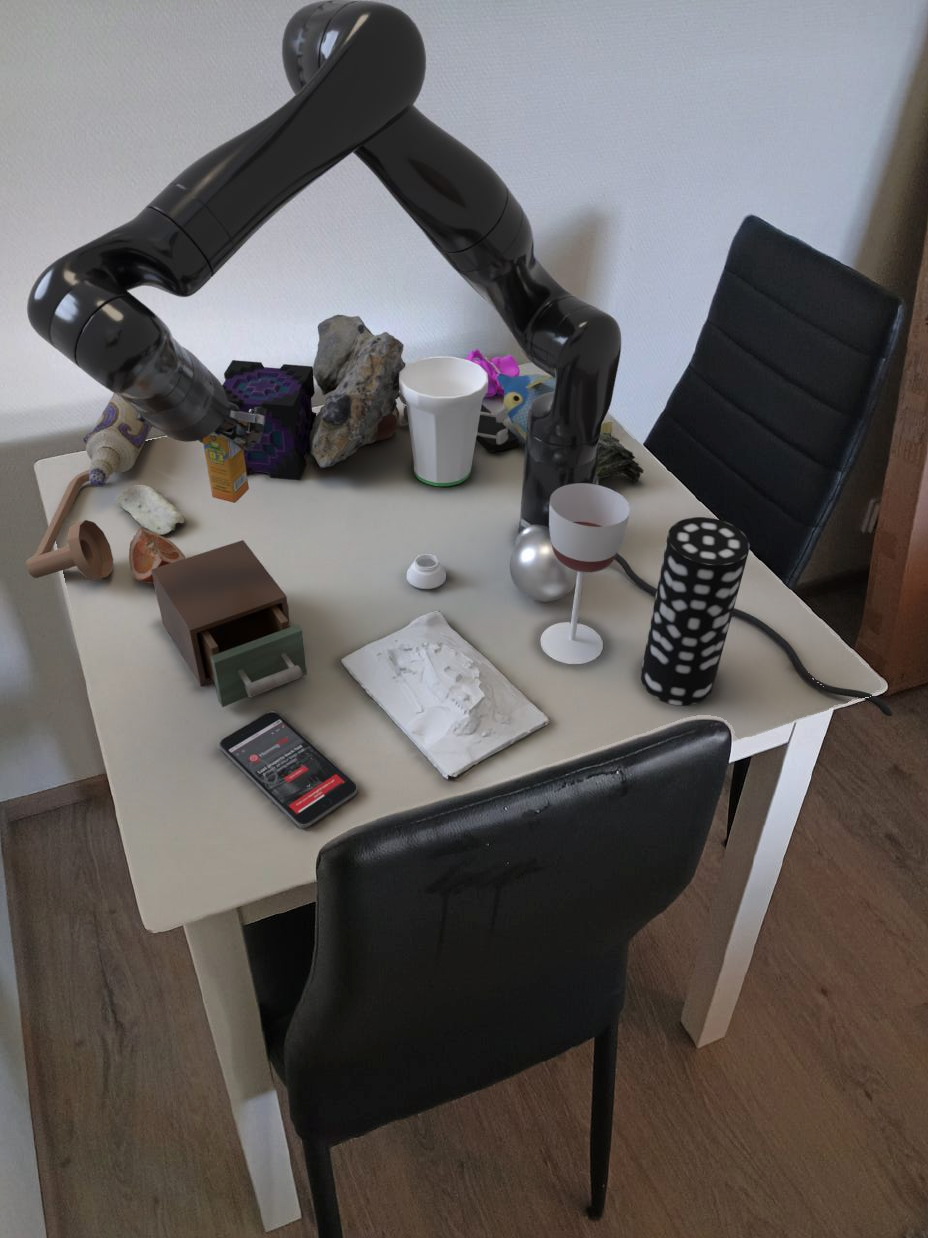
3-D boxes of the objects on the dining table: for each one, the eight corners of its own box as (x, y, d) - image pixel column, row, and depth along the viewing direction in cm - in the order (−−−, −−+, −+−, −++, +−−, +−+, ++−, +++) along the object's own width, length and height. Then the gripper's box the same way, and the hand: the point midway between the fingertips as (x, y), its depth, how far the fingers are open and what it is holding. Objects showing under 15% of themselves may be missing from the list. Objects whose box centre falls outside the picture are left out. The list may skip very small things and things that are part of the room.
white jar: (453, 579, 129) (427, 562, 132) (454, 561, 128) (427, 544, 130) (425, 596, 127) (398, 578, 129) (425, 578, 125) (398, 560, 127)
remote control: (519, 449, 155) (473, 402, 164) (520, 439, 153) (473, 392, 163) (491, 456, 153) (446, 408, 162) (491, 446, 152) (446, 398, 161)
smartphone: (302, 827, 98) (216, 742, 106) (302, 831, 99) (217, 747, 107) (360, 787, 102) (273, 708, 110) (360, 792, 103) (274, 713, 111)
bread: (334, 407, 162) (332, 379, 159) (404, 413, 161) (403, 385, 158) (318, 443, 154) (315, 415, 151) (391, 450, 153) (390, 421, 150)
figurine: (516, 394, 151) (413, 379, 158) (497, 407, 146) (392, 391, 154) (516, 441, 154) (416, 424, 162) (498, 455, 150) (395, 437, 157)
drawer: (322, 695, 112) (318, 651, 108) (236, 730, 108) (228, 685, 103) (266, 617, 122) (260, 574, 117) (185, 647, 117) (175, 602, 113)
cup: (500, 465, 150) (505, 371, 140) (454, 504, 142) (457, 407, 132) (430, 440, 155) (431, 347, 145) (383, 476, 147) (380, 381, 137)
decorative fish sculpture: (513, 330, 150) (496, 411, 143) (634, 372, 153) (622, 454, 147) (489, 378, 161) (471, 455, 154) (602, 417, 164) (589, 494, 158)
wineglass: (589, 675, 117) (610, 536, 104) (523, 647, 120) (536, 508, 107) (618, 637, 122) (642, 499, 109) (555, 611, 125) (570, 475, 112)
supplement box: (209, 498, 114) (196, 419, 107) (225, 483, 116) (214, 405, 110) (234, 505, 113) (223, 426, 106) (250, 490, 115) (241, 411, 109)
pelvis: (531, 361, 167) (520, 400, 170) (482, 343, 170) (472, 381, 173) (497, 367, 157) (486, 408, 160) (446, 347, 160) (437, 387, 163)
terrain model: (428, 618, 125) (427, 585, 122) (566, 712, 112) (569, 678, 109) (321, 679, 116) (317, 646, 113) (457, 789, 103) (457, 754, 100)
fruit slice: (123, 563, 130) (115, 532, 127) (174, 548, 133) (167, 517, 129) (144, 600, 125) (136, 568, 121) (196, 583, 127) (190, 551, 124)
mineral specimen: (654, 497, 145) (614, 509, 154) (646, 410, 146) (606, 426, 155) (567, 499, 139) (530, 511, 148) (559, 407, 139) (522, 424, 148)
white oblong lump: (112, 500, 140) (122, 473, 139) (141, 504, 144) (151, 478, 143) (158, 542, 134) (169, 515, 133) (187, 545, 138) (198, 518, 137)
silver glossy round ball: (610, 562, 124) (561, 499, 126) (564, 587, 118) (513, 521, 120) (570, 599, 131) (525, 539, 133) (525, 625, 125) (477, 561, 126)
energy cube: (318, 438, 155) (312, 366, 147) (299, 480, 146) (292, 405, 138) (242, 431, 156) (232, 359, 148) (218, 473, 147) (207, 398, 139)
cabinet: (293, 651, 119) (286, 596, 113) (200, 686, 114) (189, 630, 108) (251, 593, 126) (243, 539, 121) (162, 624, 122) (150, 569, 116)
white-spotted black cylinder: (712, 711, 113) (750, 570, 100) (637, 699, 114) (665, 558, 101) (713, 661, 119) (749, 523, 106) (642, 650, 120) (669, 512, 107)
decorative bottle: (108, 405, 157) (121, 369, 153) (154, 427, 159) (169, 392, 155) (57, 486, 136) (71, 447, 132) (111, 510, 138) (127, 472, 135)
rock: (397, 452, 133) (304, 381, 127) (327, 499, 150) (242, 438, 144) (464, 320, 144) (382, 249, 139) (392, 377, 161) (316, 316, 155)
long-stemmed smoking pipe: (89, 498, 146) (60, 456, 141) (145, 481, 145) (118, 437, 140) (41, 608, 127) (6, 563, 122) (105, 588, 125) (72, 542, 120)
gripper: (252, 359, 95) (296, 412, 112) (107, 345, 96) (173, 400, 113) (241, 437, 94) (287, 478, 111) (95, 422, 95) (163, 466, 112)
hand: (229, 439), depth 112 cm, fingers closed on supplement box, 3 cm apart
